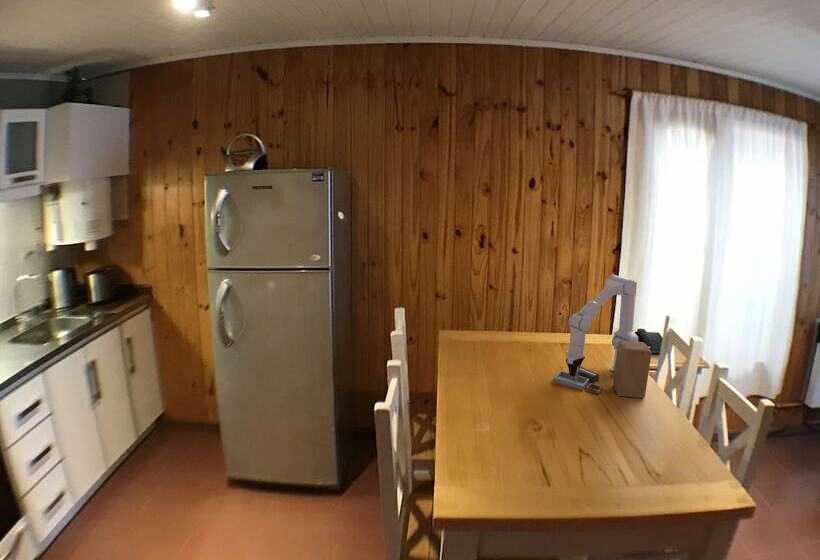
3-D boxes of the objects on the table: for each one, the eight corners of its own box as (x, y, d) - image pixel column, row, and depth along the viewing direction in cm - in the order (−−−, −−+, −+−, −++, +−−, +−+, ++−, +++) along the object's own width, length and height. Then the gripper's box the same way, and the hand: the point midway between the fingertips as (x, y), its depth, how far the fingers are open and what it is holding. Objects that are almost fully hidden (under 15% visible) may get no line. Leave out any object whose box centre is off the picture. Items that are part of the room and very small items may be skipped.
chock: (598, 381, 188) (599, 373, 187) (592, 384, 185) (593, 376, 184) (579, 374, 195) (580, 366, 194) (573, 376, 192) (573, 368, 191)
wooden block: (645, 399, 173) (652, 351, 168) (617, 396, 175) (624, 349, 170) (638, 387, 182) (644, 341, 178) (611, 385, 184) (617, 339, 180)
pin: (579, 379, 185) (580, 363, 184) (577, 381, 183) (577, 365, 181) (571, 377, 187) (572, 361, 186) (568, 379, 185) (569, 363, 184)
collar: (602, 389, 180) (603, 386, 180) (599, 394, 176) (599, 391, 176) (589, 386, 183) (590, 382, 183) (586, 390, 179) (586, 387, 179)
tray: (588, 383, 185) (589, 378, 185) (582, 391, 179) (583, 386, 178) (560, 375, 192) (560, 370, 192) (553, 382, 186) (553, 377, 186)
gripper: (573, 335, 190) (569, 365, 193) (560, 346, 179) (557, 377, 182) (590, 339, 186) (586, 370, 189) (578, 350, 174) (575, 382, 178)
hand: (573, 374), depth 185 cm, fingers closed on pin, 3 cm apart
